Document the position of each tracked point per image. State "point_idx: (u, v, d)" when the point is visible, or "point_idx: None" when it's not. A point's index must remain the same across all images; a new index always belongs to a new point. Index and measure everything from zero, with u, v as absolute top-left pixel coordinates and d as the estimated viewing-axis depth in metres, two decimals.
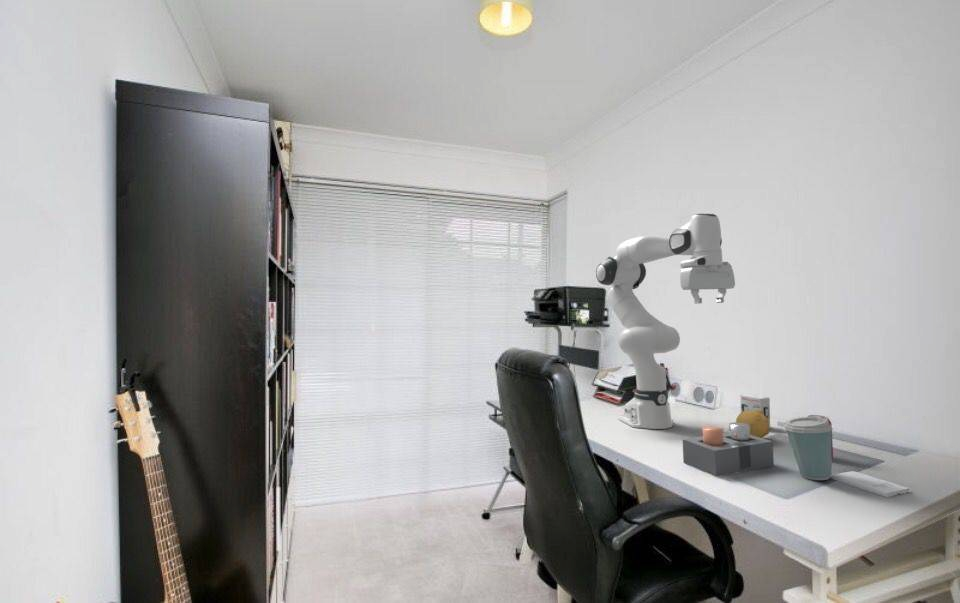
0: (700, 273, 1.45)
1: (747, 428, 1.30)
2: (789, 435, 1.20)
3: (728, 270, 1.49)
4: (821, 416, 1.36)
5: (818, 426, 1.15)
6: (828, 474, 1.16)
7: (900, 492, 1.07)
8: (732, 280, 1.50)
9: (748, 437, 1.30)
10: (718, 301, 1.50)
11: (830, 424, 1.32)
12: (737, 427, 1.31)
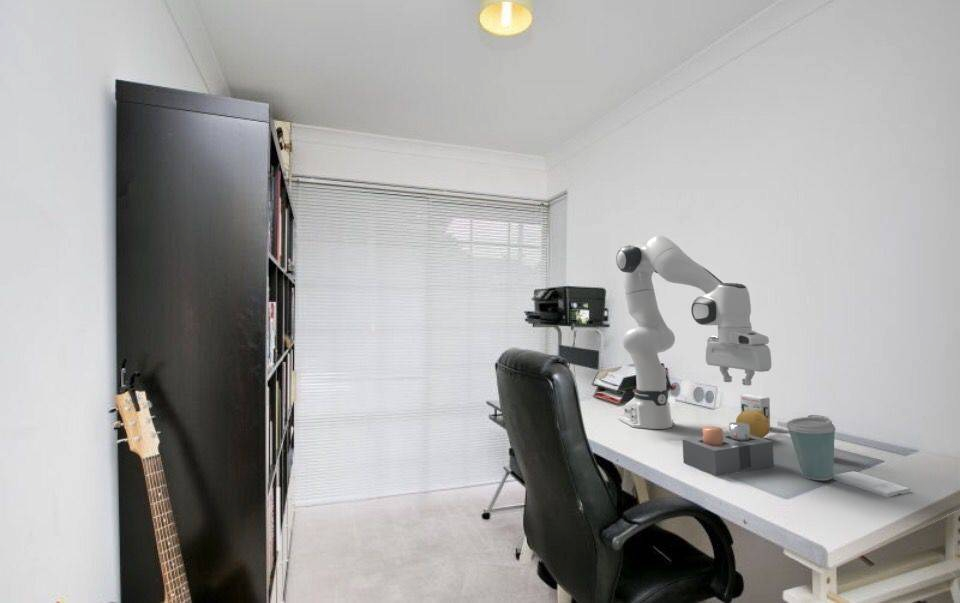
0: None
1: (747, 428, 1.30)
2: (792, 435, 1.20)
3: None
4: (821, 416, 1.36)
5: (822, 426, 1.15)
6: (830, 474, 1.16)
7: (900, 492, 1.07)
8: None
9: (748, 437, 1.30)
10: (728, 380, 1.36)
11: None
12: (737, 427, 1.31)
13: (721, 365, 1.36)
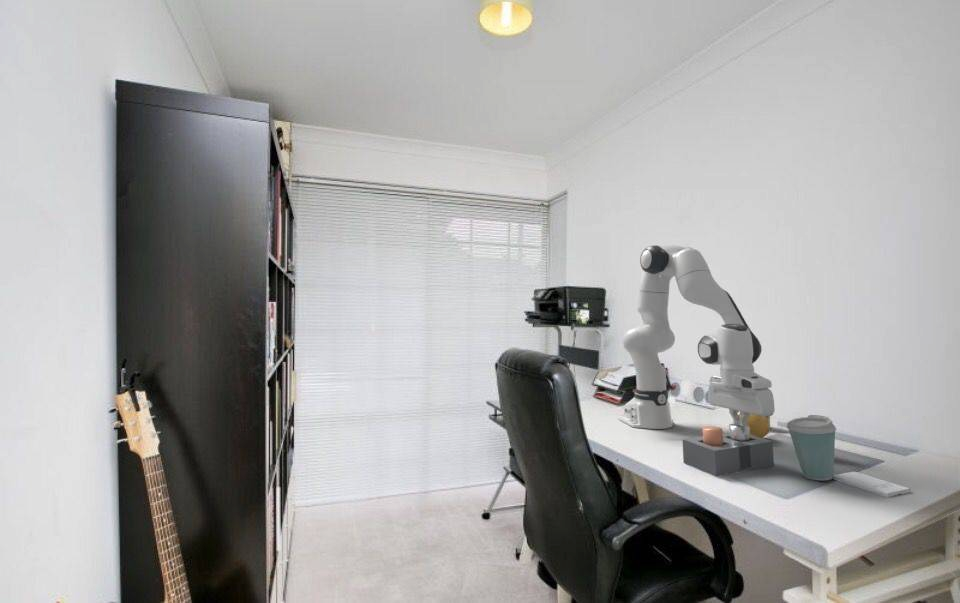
0: None
1: (747, 429, 1.30)
2: (792, 435, 1.20)
3: None
4: (821, 416, 1.36)
5: (822, 427, 1.15)
6: (831, 474, 1.16)
7: (901, 492, 1.07)
8: None
9: (748, 438, 1.30)
10: None
11: None
12: (737, 428, 1.31)
13: (724, 406, 1.36)
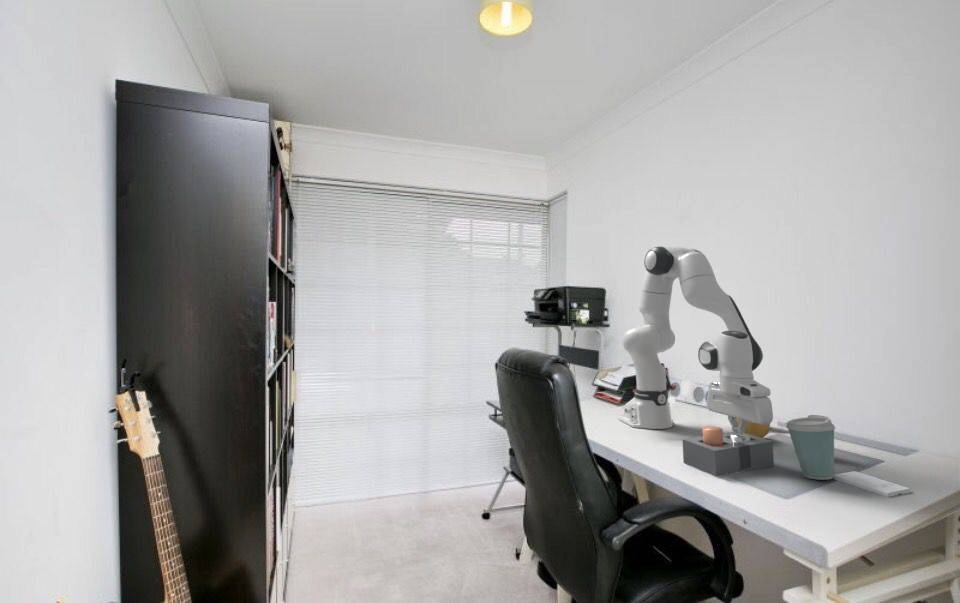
0: None
1: (748, 439, 1.30)
2: (792, 434, 1.20)
3: None
4: (821, 416, 1.36)
5: (821, 425, 1.16)
6: (831, 474, 1.16)
7: (901, 492, 1.07)
8: None
9: None
10: None
11: None
12: (737, 438, 1.31)
13: (722, 413, 1.36)
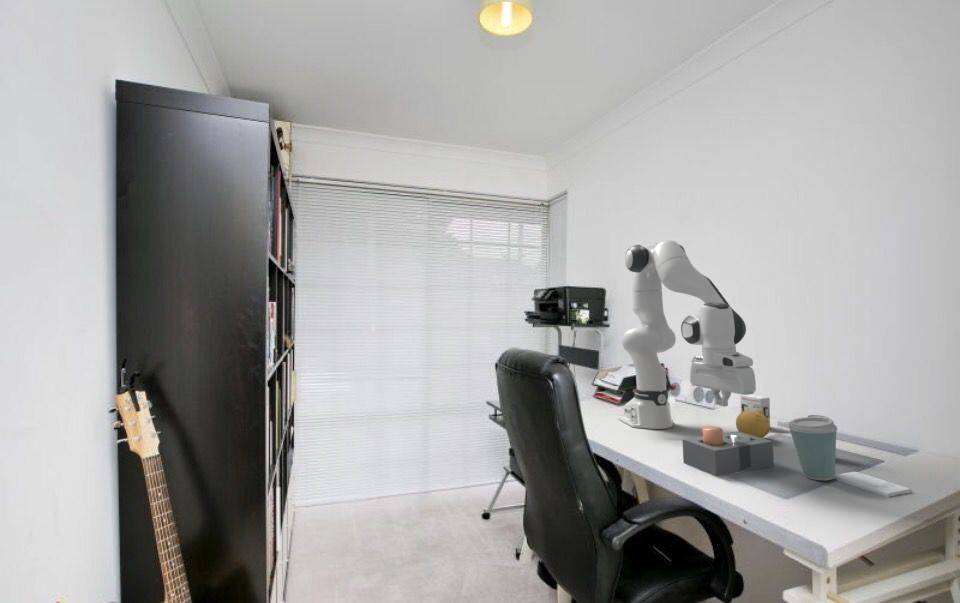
0: None
1: (748, 439, 1.30)
2: (794, 435, 1.20)
3: None
4: (821, 416, 1.36)
5: (824, 426, 1.15)
6: (832, 474, 1.16)
7: (901, 493, 1.07)
8: None
9: None
10: None
11: None
12: (737, 438, 1.31)
13: (705, 386, 1.34)
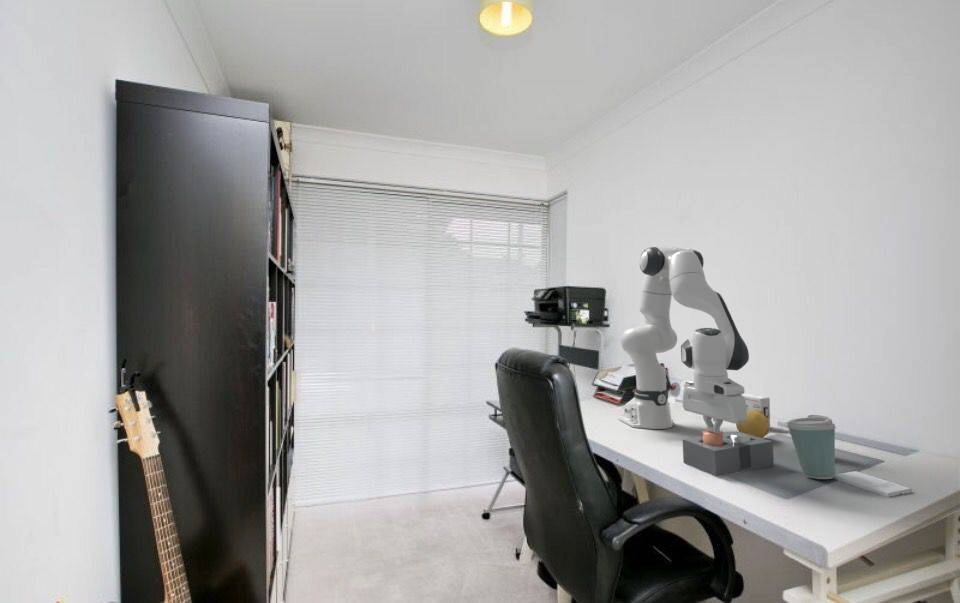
0: None
1: (748, 439, 1.30)
2: (793, 434, 1.21)
3: None
4: (821, 416, 1.36)
5: (822, 424, 1.16)
6: (832, 473, 1.16)
7: (902, 492, 1.07)
8: None
9: None
10: None
11: None
12: (737, 438, 1.31)
13: (697, 412, 1.33)
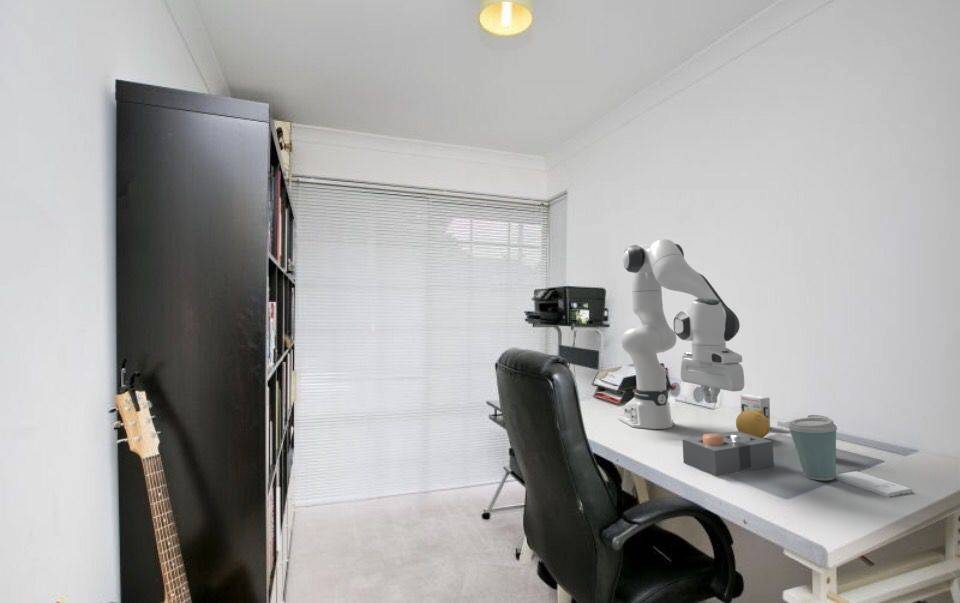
0: None
1: (748, 439, 1.30)
2: (794, 435, 1.20)
3: None
4: (821, 416, 1.36)
5: (824, 426, 1.15)
6: (833, 474, 1.16)
7: (902, 492, 1.07)
8: None
9: None
10: None
11: None
12: (737, 438, 1.31)
13: (695, 382, 1.33)
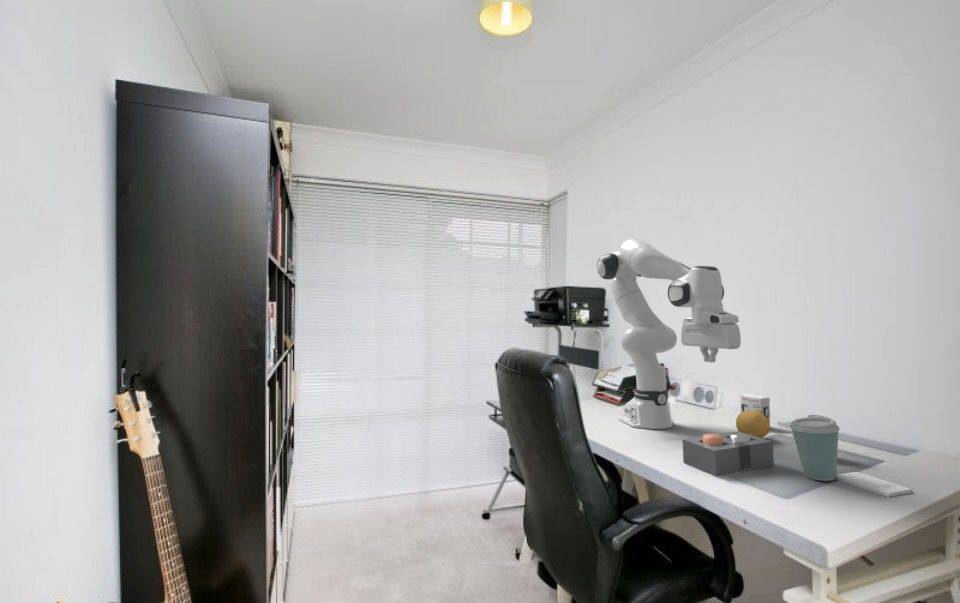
0: None
1: (748, 439, 1.30)
2: (796, 435, 1.19)
3: None
4: (821, 416, 1.36)
5: (827, 426, 1.15)
6: (834, 474, 1.16)
7: (902, 493, 1.07)
8: None
9: None
10: None
11: None
12: (737, 438, 1.31)
13: (695, 345, 1.42)
